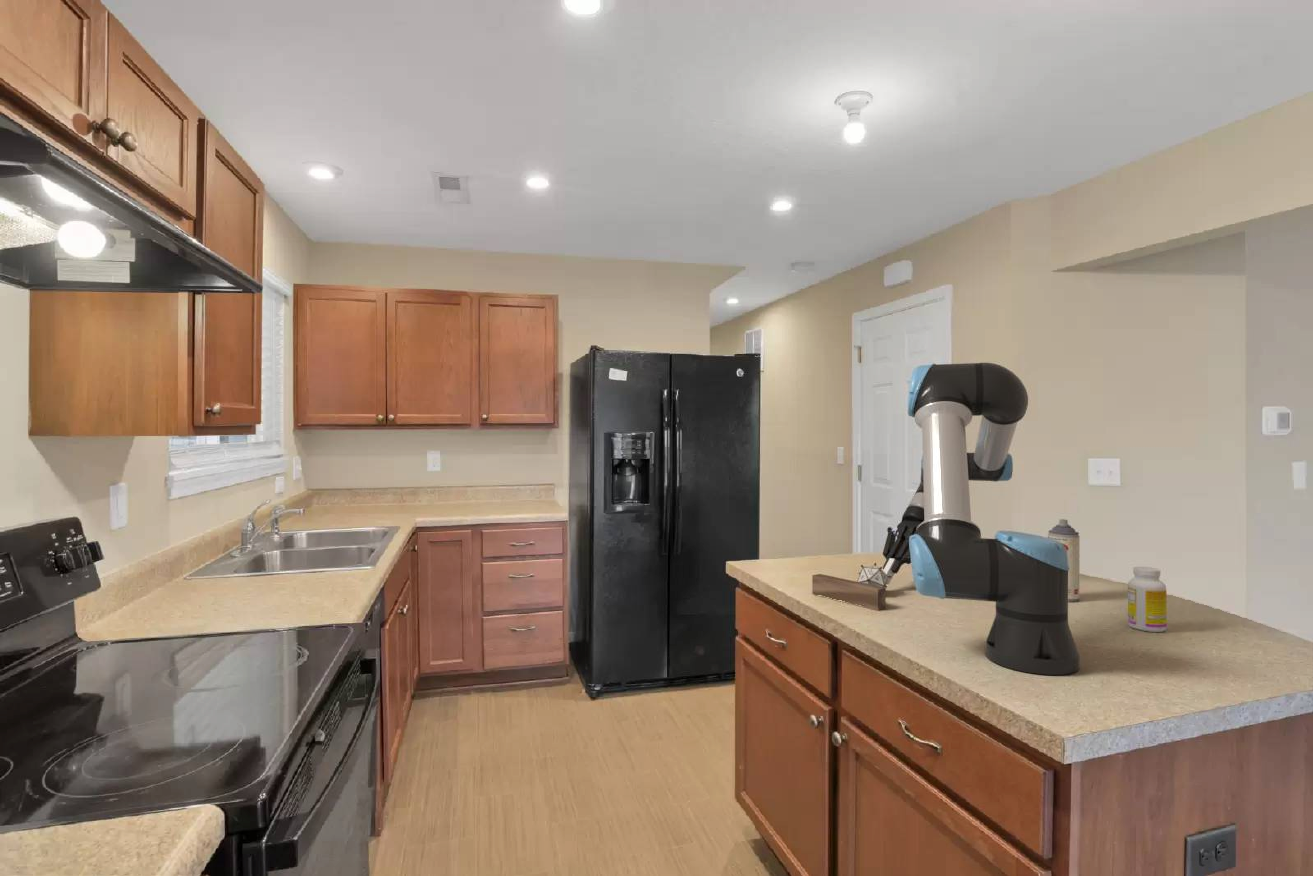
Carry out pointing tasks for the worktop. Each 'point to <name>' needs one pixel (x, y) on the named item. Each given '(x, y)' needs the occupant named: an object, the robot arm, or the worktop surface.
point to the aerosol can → (1069, 555)
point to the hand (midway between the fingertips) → (884, 581)
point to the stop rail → (849, 591)
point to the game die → (873, 576)
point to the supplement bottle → (1147, 600)
